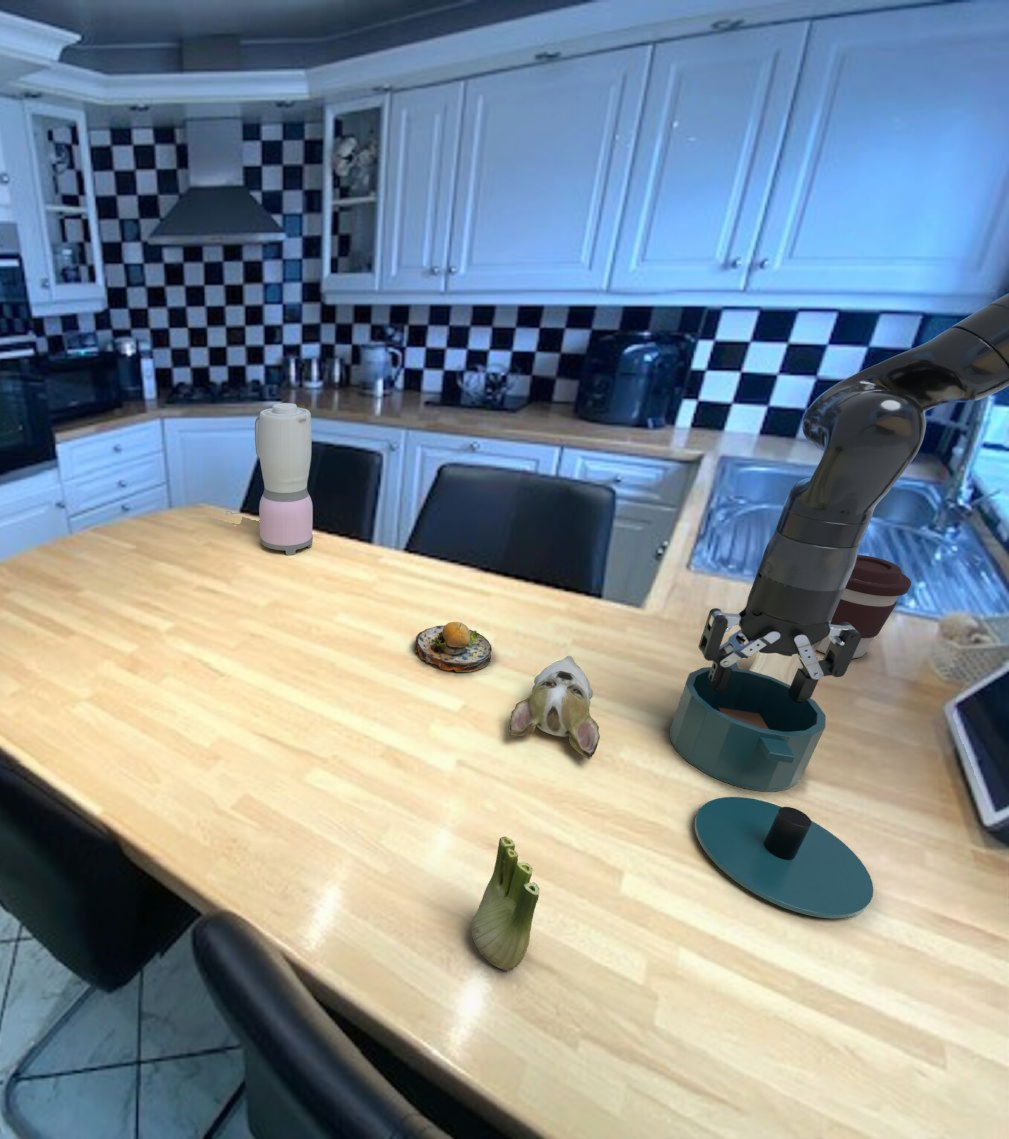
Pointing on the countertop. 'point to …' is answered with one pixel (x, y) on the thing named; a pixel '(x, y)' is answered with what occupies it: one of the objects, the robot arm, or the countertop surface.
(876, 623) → the coffee cup
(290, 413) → the blender
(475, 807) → the countertop surface
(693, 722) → the pot
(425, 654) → the burger
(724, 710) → the block
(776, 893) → the lid
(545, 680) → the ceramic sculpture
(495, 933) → the fennel bulb
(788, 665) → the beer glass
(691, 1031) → the countertop surface
